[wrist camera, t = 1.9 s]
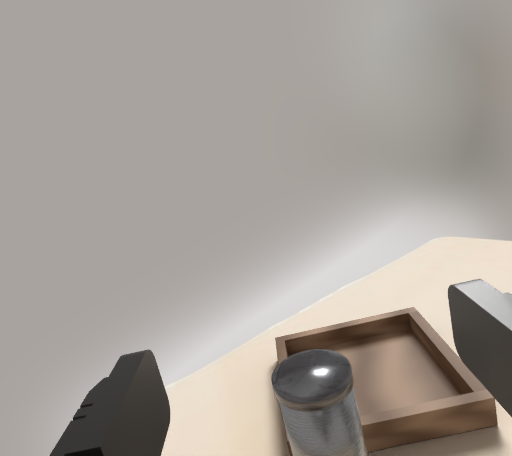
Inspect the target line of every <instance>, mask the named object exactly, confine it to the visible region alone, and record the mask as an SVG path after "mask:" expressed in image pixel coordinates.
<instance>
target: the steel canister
mask: <svg viewBox="0 0 512 456" xmlns="http://www.w3.org/2000/svg"><path fill="white" fill-rule="evenodd" d="M353 384H354V378H353V373H352V368H351V364H350V362H349V360H348V359H347V358H346V357H345V356H344V355H342V354H341V353H338V352H336V351H332V350H327V349H313V350H306V351H302V352H299V353H296V354H294V355H292V356H290V357H288V358H286V359H285V360H283V361H282V362H281V363H280V364H279V365H278V366H277V367H276V368H275V370H274V372H273V374H272V385H273V388H274V392H275V396H276V398H277V400H278V401H279V404H280V408H281V412H282V416H283V420H284V423H285V427H286V431H287V435H288V439H289V442H290V446H291V450H292V454H293V456H368V453H367V449H366V444H365V439H364V434H363V429H362V425H361V420H360V415H359V410H358V406H357V401H356V396H355V391H354V387H353Z"/></svg>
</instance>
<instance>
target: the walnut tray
mask: <svg viewBox="0 0 512 456" xmlns="http://www.w3.org/2000/svg"><path fill="white" fill-rule="evenodd" d="M275 340H276V349H277V357H278V365H279V364H280V363H281V362H282V361H283V360H285V359H286V358H288V357H290V356H292V355H294V354H296V353H299V352H302V351H306V350H313V349H327V350H332V351H336V352H338V353H341V354H342V355H344V356H345V357H346V358H347V359H348V360H349V362H350V364H351V368H352V373H353V378H354V384H353V387H354V391H355V396H356V401H357V406H358V410H359V415H360V420H361V425H362V429H363V434H364V439H365V444H366V449H367V452H371V451H376V450H381V449H385V448H390V447H395V446H400V445H405V444H409V443H414V442H419V441H424V440H429V439H433V438H438V437H443V436H448V435H453V434H457V433H462V432H467V431H472V430H477V429H482V428H486V427H491V426H496V425H498V423H497V415H496V406H495V398H494V397H493V396H492V395H491V393H490V392H489V391H488V390H487V389H486V388H485V387H484V386H483V385H482V383H481V382H480V381H479V380H478V379H477V378H476V377H475V376H474V374H473V373H472V372H471V371H470V370H469V369H468V368H467V367H466V366H465V364H464V363H463V362H462V360H461V359H460V358H459V357H458V356H457V355H456V354H455V353H454V351H453V350H452V349H451V348H450V347H449V346H448V345H447V344H446V342H445V341H444V340H443V339H442V338H441V337H440V336H439V335H438V333H437V332H436V331H435V330H434V329H433V328H432V327H431V326H430V324H429V323H428V322H427V321H426V320H425V319H424V318H423V317H422V315H421V314H420V313H419V312H418V311H417V310H416V309H415V308H414V307H412V308H407V309H403V310H398V311H394V312H389V313H385V314H380V315H376V316H371V317H367V318H362V319H358V320H353V321H349V322H344V323H340V324H336V325H331V326H327V327H322V328H318V329H313V330H309V331H304V332H300V333H295V334H291V335H286V336H282V337H277V338H275ZM285 429H286V427H285ZM286 438H287V444H288V448H289V451H290V455H291V456H293V454H292V450H291V446H290V442H289V439H288V435H287V431H286Z"/></svg>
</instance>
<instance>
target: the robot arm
mask: <svg viewBox="0 0 512 456" xmlns="http://www.w3.org/2000/svg"><path fill="white" fill-rule="evenodd" d="M448 299H449V307H450V314H451V322H452V330H453V337H454V343H455V346H456V349H457V352H458V354H459V356H460V358H461V360H462V362H463V363H464V364H465V366H466V367H467V368H468V369H469V370H470V371H471V372H472V373H473V374H474V376H475V377H476V378H477V379H478V380H479V381H480V382H481V383H482V385H483V386H484V387H485V388H486V389H487V390H488V391H489V392H490V393H491V395H492V396H493V397H494V398H495V399H496V400H497V401H498V402H499V403H500V405H501V406H502V407H503V408H504V409H505V410H506V411H507V412H508V414H509V415H510V416H511V417H512V294H511V293H501V292H500V291H498V290H497V289H495V288H494V287H492V286H491V285H489V284H488V283H486V282H485V281H483V280H481V279H477V280H472V281H468V282H463V283H458V284H454V285H450V286H449V288H448ZM169 423H170V406H169V401H168V397H167V394H166V391H165V388H164V385H163V381H162V378H161V376H160V372H159V369H158V366H157V363H156V360H155V357H154V355H153V353H152V351H150V350H145V351H140V352H135V353H131V354H126V355H122V356H121V357H120V358H119V360H118V361H117V363H116V365H115V367H114V368H113V370H112V372H111V374H110V375H109V377H106V378H104V379H102V380H101V381H100V382H99V383H98V384H97V385H96V386H95V387H94V388H93V389H92V390H90V391H89V393H88V394H87V396H86V397H85V399H84V401H83V402H82V404H81V406H80V409H78V410H77V412H76V414H75V415H74V417H73V421H71V422H70V424H69V425H68V427H67V428H66V430H65V432H64V433H63V435H62V436H61V438H60V440H59V441H58V443H57V444H56V446H55V448H54V449H53V451H52V452H51V454H50V456H161V452H162V449H163V445H164V442H165V438H166V435H167V431H168V427H169Z"/></svg>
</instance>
